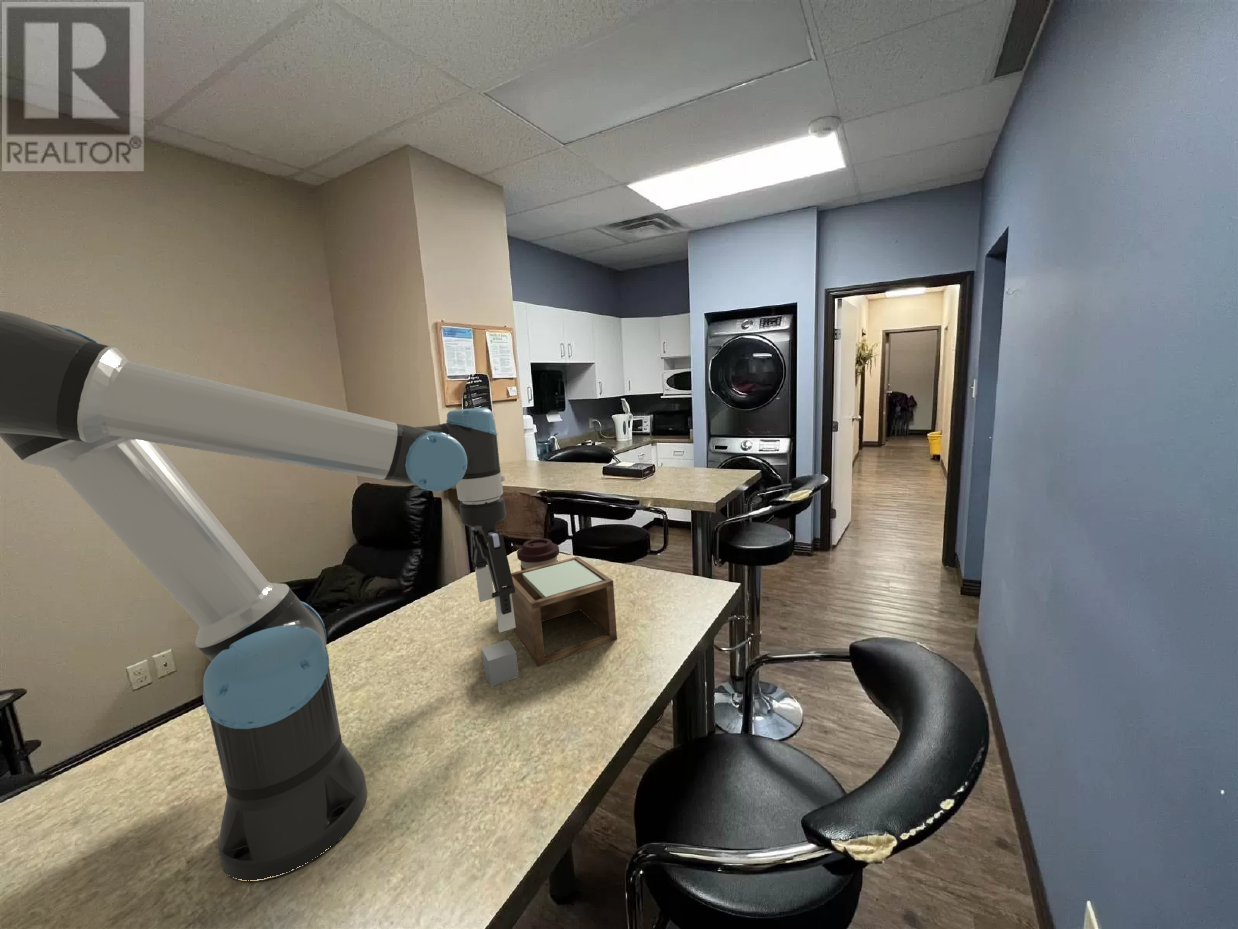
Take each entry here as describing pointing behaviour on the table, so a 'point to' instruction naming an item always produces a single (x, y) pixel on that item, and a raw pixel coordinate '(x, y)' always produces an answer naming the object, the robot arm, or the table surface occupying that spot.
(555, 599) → the box frame
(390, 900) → the table surface
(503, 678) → the block
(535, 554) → the coffee cup
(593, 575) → the trapdoor
